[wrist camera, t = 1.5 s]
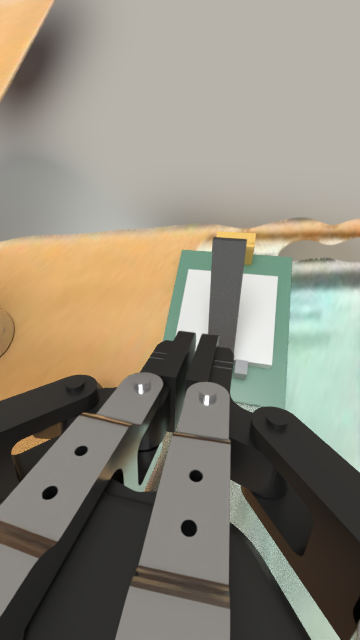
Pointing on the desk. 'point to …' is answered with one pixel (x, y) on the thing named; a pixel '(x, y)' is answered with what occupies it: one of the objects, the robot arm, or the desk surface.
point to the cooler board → (256, 378)
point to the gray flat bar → (226, 288)
